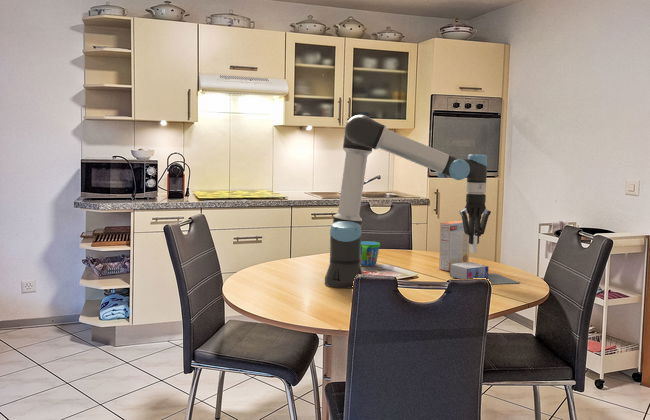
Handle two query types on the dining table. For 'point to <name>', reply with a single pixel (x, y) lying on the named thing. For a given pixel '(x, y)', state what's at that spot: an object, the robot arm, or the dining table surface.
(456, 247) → the cracker box
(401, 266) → the dining table surface
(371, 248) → the snack cup
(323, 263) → the dining table surface
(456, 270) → the ink cartridge box
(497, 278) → the mat
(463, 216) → the robot arm
